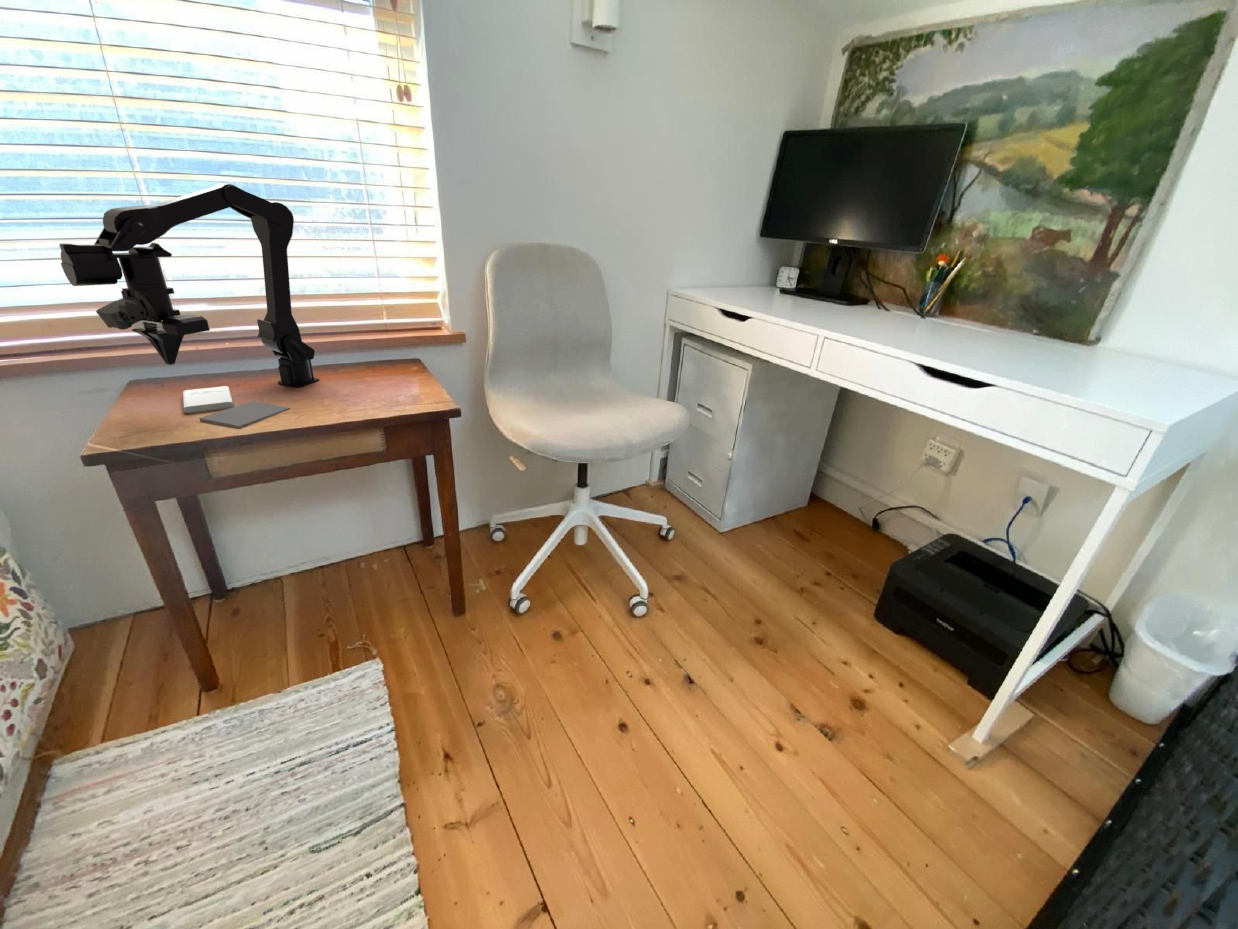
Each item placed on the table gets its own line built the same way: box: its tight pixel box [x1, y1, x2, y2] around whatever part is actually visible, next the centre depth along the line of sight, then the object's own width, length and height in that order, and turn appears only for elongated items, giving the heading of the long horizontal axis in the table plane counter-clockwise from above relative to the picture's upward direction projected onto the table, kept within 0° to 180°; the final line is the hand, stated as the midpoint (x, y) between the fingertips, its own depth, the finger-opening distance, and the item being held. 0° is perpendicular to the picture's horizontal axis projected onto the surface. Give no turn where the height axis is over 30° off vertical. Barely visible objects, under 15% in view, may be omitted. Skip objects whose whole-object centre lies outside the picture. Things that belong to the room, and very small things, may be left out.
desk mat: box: [199, 400, 291, 430], centre depth 109 cm, size 12×10×1 cm
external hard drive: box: [182, 385, 235, 415], centre depth 114 cm, size 2×8×12 cm
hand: (170, 364), depth 106 cm, fingers closed
